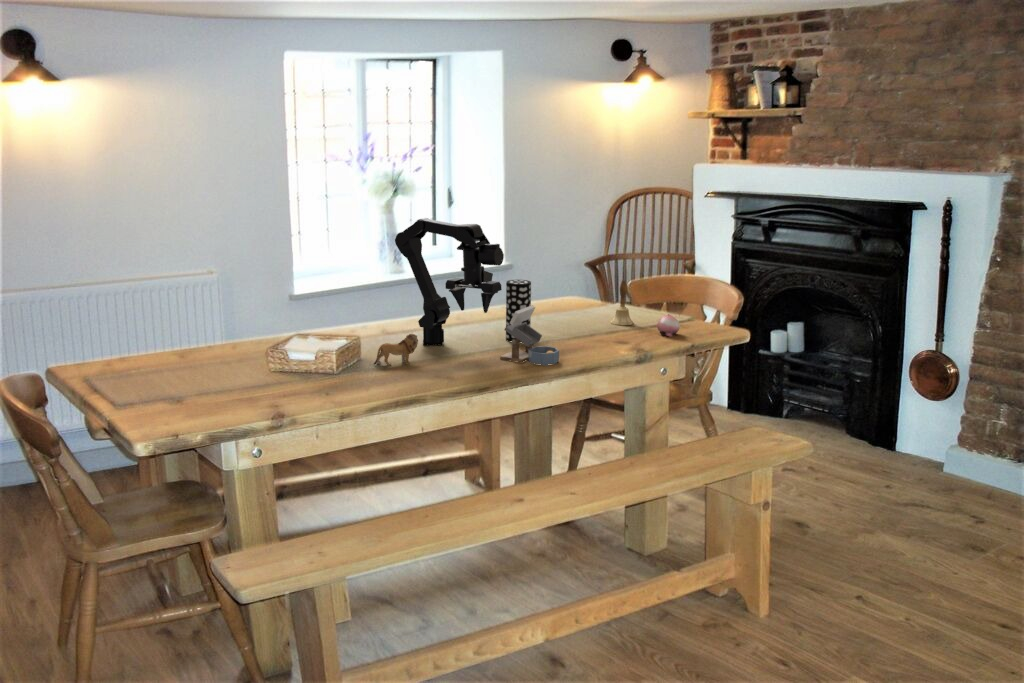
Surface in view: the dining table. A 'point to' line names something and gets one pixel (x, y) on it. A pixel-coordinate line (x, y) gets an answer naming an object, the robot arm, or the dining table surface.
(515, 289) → the white-spotted black cylinder
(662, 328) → the piggy bank
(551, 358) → the blue bowl
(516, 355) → the stand
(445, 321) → the robot arm
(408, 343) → the lion figurine
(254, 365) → the dining table surface
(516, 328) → the tipper
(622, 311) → the hand bell
